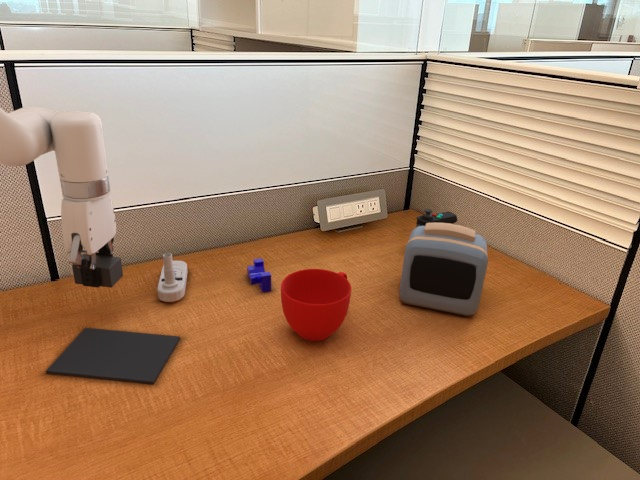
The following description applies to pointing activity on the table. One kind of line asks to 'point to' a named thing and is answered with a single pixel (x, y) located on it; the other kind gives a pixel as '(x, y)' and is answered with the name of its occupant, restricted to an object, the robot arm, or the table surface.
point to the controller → (436, 218)
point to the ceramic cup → (315, 302)
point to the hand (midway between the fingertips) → (99, 277)
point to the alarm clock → (444, 268)
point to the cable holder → (259, 275)
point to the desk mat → (115, 356)
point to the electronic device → (172, 279)
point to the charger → (102, 270)
